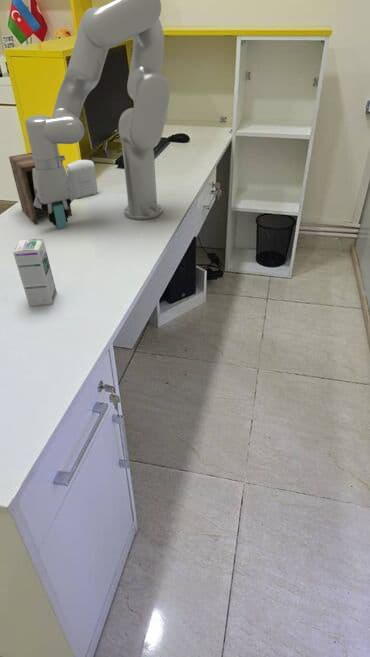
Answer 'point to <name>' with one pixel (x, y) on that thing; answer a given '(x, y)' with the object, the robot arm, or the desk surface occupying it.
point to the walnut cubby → (26, 184)
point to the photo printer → (82, 178)
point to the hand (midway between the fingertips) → (59, 221)
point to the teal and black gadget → (58, 213)
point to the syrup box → (35, 271)
